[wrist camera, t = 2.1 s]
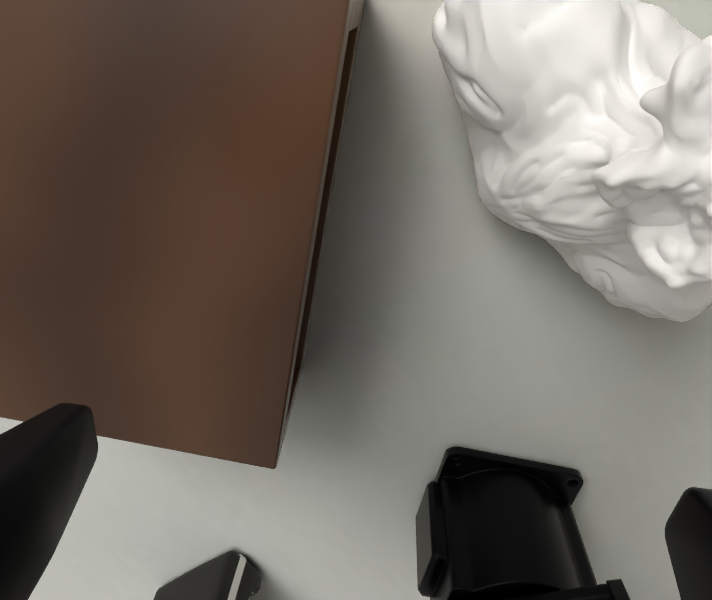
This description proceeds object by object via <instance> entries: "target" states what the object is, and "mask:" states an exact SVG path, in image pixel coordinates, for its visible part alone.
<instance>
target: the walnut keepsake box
mask: <svg viewBox="0 0 712 600" xmlns="http://www.w3.org/2000/svg"><path fill="white" fill-rule="evenodd" d="M364 3H365V0H0V417H2V418H8V419H13V420H18V421H23V422H25V421H27V420H29V419H31V418H32V417H34V416H36V415H38V414H40V413H42V412H44V411H46V410H48V409H50V408H51V407H53V406H55V405H57V404H60V403H73V404H80V405H86V406H88V407H90V409H91V410H92V413H93V417H94V424H95V430H96V435H97V436H102V437H108V438H113V439H118V440H124V441H129V442H134V443H139V444H145V445H150V446H155V447H160V448H166V449H171V450H176V451H182V452H187V453H192V454H197V455H203V456H208V457H213V458H218V459H224V460H229V461H234V462H239V463H245V464H250V465H255V466H261V467H266V468H271V469H275V468H276V466H277V462H278V459H279V455H280V451H281V447H282V443H283V440H284V436H285V433H286V429H287V425H288V421H289V418H290V414H291V410H292V406H293V403H294V399H295V395H296V392H297V388H298V384H299V381H300V377H301V373H302V367H303V361H304V355H305V349H306V343H307V338H308V332H309V326H310V320H311V314H312V308H313V302H314V296H315V291H316V285H317V279H318V273H319V267H320V261H321V255H322V249H323V244H324V238H325V232H326V226H327V220H328V214H329V208H330V202H331V197H332V191H333V185H334V179H335V173H336V167H337V161H338V156H339V150H340V144H341V138H342V132H343V126H344V120H345V114H346V109H347V103H348V97H349V91H350V85H351V79H352V73H353V67H354V62H355V56H356V50H357V44H358V38H359V32H360V26H361V21H362V15H363V9H364Z"/></svg>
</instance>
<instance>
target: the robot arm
mask: <svg viewBox="0 0 712 600" xmlns="http://www.w3.org/2000/svg"><path fill="white" fill-rule="evenodd" d="M97 452H98V443H97V436H96V430H95V424H94V417H93V413H92V410H91V409H90V407H88V406H86V405H80V404H73V403H60V404H57V405H55V406H53V407H51V408H50V409H48V410H46V411H44V412H42V413H40V414H38V415H36V416H34V417H32V418H31V419H29V420H27V421H25V422H23V423H21V424H19V425H17V426H15V427H14V428H12V429H10V430H8V431H6V432H4V433H2V434H0V600H28V598H29V597H30V595H31V593H32V591H33V590H34V588H35V586H36V585H37V583H38V581H39V579H40V578H41V576H42V574H43V572H44V571H45V569H46V567H47V565H48V563H49V561H50V560H51V558H52V556H53V554H54V552H55V550H56V547H57V545H58V543H59V541H60V539H61V537H62V535H63V532H64V530H65V528H66V526H67V523H68V521H69V519H70V517H71V514H72V512H73V510H74V508H75V505H76V503H77V501H78V499H79V497H80V494H81V492H82V490H83V488H84V485H85V483H86V481H87V479H88V476H89V474H90V472H91V470H92V467H93V465H94V463H95V460H96V457H97ZM453 457H459V458H457V459H454V458H453ZM570 479H573V480H570ZM582 485H583V480H582V477H581V474H580V472H579V471H578V470H575V469H571V468H566V467H561V466H556V465H550V464H545V463H540V462H535V461H530V460H524V459H519V458H514V457H509V456H504V455H498V454H493V453H488V452H483V451H478V450H473V449H467V448H462V447H451V448H449V449H447V451H446V452H445V454H444V457H443V460H442V463H441V466H440V468H439V471H438V474H437V477H436V479H435V482H434V481H431V482H430V483H429V484H428V485H427V487H426V490H425V493H424V496H423V498H422V501H421V504H420V507H419V510H418V512H417V515H416V544H417V578H418V590H419V592H420V593H421V595H422V596H427V597H430V600H630V598H629V596H628V594H627V591H626V589H625V587H624V585H623V582H622V580H621V579H616V580H609V581H606V584H599V585H597V582H596V579H595V576H594V573H593V570H592V567H591V564H590V561H589V558H588V555H587V553H586V550H585V547H584V544H583V541H582V538H581V535H580V532H579V529H578V526H577V523H576V520H575V517H574V514H573V511H572V508H571V505H572V503H573V501H574V499H575V498H576V496H577V494H578V492H579V490H580V489H581V487H582ZM665 539H666V543H667V547H668V551H669V555H670V559H671V563H672V566H673V570H674V574H675V578H676V582H677V586H678V589H679V593H680V597H681V600H712V489H704V488H697V487H691V488H688V489H687V490H685V491H684V493H683V494H682V496H681V498H680V500H679V501H678V503H677V505H676V507H675V508H674V510H673V512H672V514H671V515H670V517H669V519H668V521H667V523H666V527H665Z"/></svg>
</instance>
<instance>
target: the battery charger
mask: <svg viewBox="0 0 712 600" xmlns="http://www.w3.org/2000/svg"><path fill="white" fill-rule="evenodd" d="M260 586H261V576H260V574H259V573H258V571H257V570H256V569H255V568H254V567H253V565H251V564H250V563H249V562H247V561H246V558H245V557H244V556H243V555H241V554H237V553H236V552H234V551H229V552H227V553H225V554H223V555H221V556H218V557H216V558H214V559H212V560H210V561H208V562H206V563H204V564H202V565H201V566H199V567H197V568H195V569H193V570H191V571H189V572H187V573H186V574H184V575H182V576H180V577H179V578H177V579H175V580H173V581H172V582H170V583H168V584H166V585H165V586H163V587H161V588H159V589H158V591H157V592H156V595H155V597H154V600H248V598H249V597H250V596H252V595H253V594H255V593H257V592H258V591H259V589H260Z"/></svg>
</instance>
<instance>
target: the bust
mask: <svg viewBox="0 0 712 600" xmlns="http://www.w3.org/2000/svg"><path fill="white" fill-rule="evenodd" d="M432 37H433V40H434V42H435V45H436V46H437V48H438V49H439V55H440V58H441V60H442V63H443V67H444V70H445V72H446V74H447V76H448V78H449V81H450V83H451V85H452V88H453V91H454V95H455V98H456V101H457V103H458V105H459V106H460V108H461V110H462V116H463V121H464V123H465V126H466V128H467V131H468V135H469V146H470V149H471V152H472V155H473V159H474V172H475V177H476V180H477V184H478V197H479V198H480V200H481V201H482V202H483V203H484V205H485V206H486V208H487V209H488V211H489V212H490V213H492V214H493V215H495V216H497V217H498V218H500V219H501V220H503V221H504V222H506V223H508V224H509V225H511V226H513V227H515V228H518V229H519V230H521V231H525V232H530V233H534V234H537V235H539V236H540V237H542V238H543V239H545V240H547V242H548V243H549V244H550V245H551V246H553V247H554V248H555V249H556V250H557V251H558V252H559V254H560V255H561V256H562V258H563V259H564V260H565V262H566V263H567V264H568V266H569V267H570V268H571V269H572V270H573V271H574V272H576V273H579V274H580V275H581V276H582V278H583V280H584V281H585V282H586V283H587V284H589V285H590V286H592V287H593V288H595V289H597V290H598V291H599V292H601V293H602V294H603V295H604V297H605V299H606V300H607V302H609V303H610V304H612V305H614V306H617V307H624V308H629V309H632V310H634V311H637V312H638V313H640V314H642V315H644V316H646V317H649V318H661V317H662V318H666V319H669V320H671V321H674V322H685V321H688V320H691V319H693V318H694V317H696V316H697V315H699V314H700V313H701V312H702V311H703V310H705V309H706V308H707V307H708V306H709V305H710V304H711V303H712V35H711V36H708V37H707V38H705V39H704V40H702V39H700V38H698V37H696V36H695V35H694V34H692V33H691V32H690V31H688V30H687V29H685V28H683V27H681V26H680V23H679V22H678V21H677V20H676V19H674V18H672V17H671V16H670V14H669V13H668V12H667V11H665V10H664V9H662V8H660V7H658V6H656V5H652V4H646V3H642V2H640V1H639V0H444V2H443V3H442V5H441V6H440V7H439V9H438V10H437V12H436V13H435V16H434V19H433V23H432Z"/></svg>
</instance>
